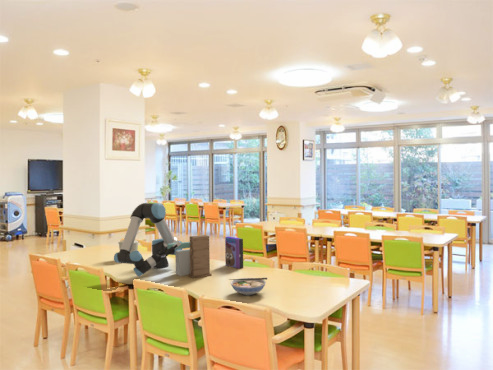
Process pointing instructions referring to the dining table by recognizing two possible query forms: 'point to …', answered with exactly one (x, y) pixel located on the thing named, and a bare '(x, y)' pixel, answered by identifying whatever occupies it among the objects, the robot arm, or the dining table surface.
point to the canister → (134, 247)
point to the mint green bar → (183, 245)
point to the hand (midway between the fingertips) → (179, 242)
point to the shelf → (182, 262)
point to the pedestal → (199, 256)
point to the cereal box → (234, 252)
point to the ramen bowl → (248, 285)
